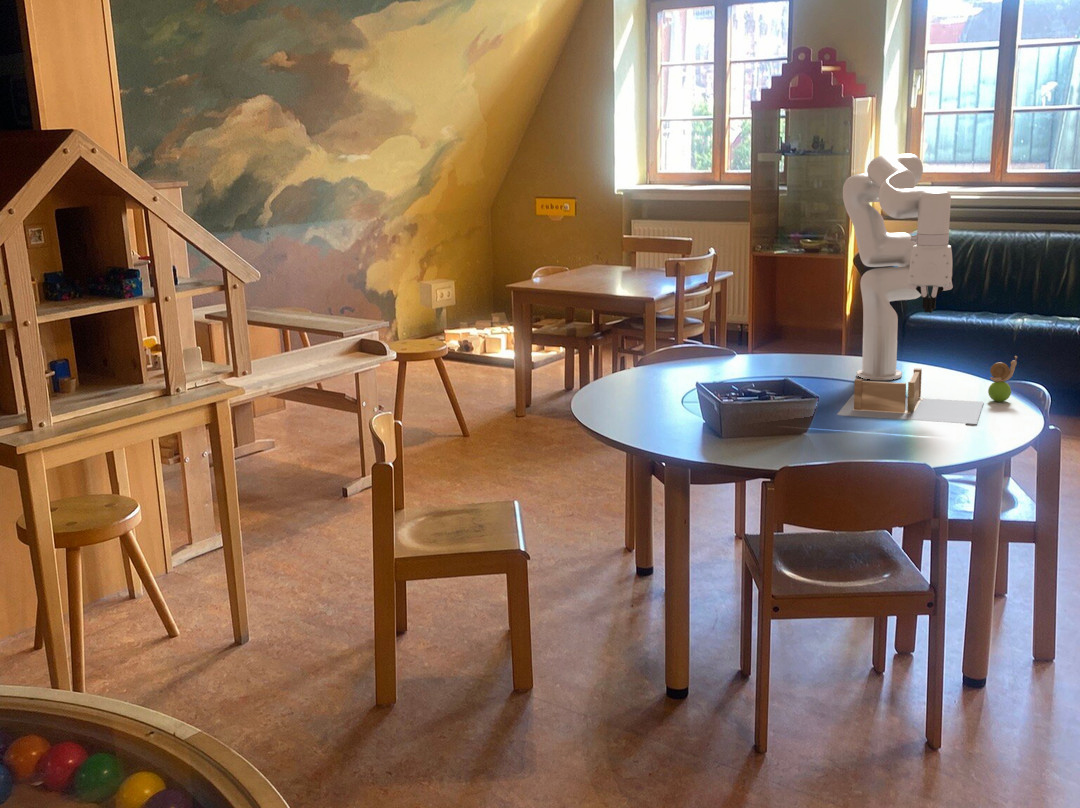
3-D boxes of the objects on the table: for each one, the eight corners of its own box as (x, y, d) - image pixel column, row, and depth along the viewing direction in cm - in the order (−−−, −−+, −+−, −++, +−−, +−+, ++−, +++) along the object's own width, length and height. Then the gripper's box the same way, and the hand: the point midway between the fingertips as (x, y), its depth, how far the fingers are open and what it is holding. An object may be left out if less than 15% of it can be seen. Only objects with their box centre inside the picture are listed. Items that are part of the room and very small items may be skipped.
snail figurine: (1016, 404, 264) (1019, 358, 261) (990, 404, 265) (992, 358, 262) (1011, 398, 269) (1014, 353, 266) (985, 398, 270) (988, 354, 267)
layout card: (852, 395, 281) (852, 394, 281) (983, 403, 266) (983, 401, 266) (836, 416, 262) (836, 414, 262) (976, 425, 247) (976, 423, 247)
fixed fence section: (855, 407, 267) (855, 378, 265) (905, 411, 262) (906, 381, 260) (853, 409, 266) (854, 380, 264) (904, 412, 260) (905, 382, 258)
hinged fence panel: (906, 411, 260) (907, 382, 258) (913, 395, 275) (914, 368, 273) (914, 411, 259) (915, 383, 257) (920, 395, 274) (921, 368, 272)
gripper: (899, 242, 260) (896, 313, 265) (962, 242, 253) (958, 315, 258) (904, 238, 267) (900, 307, 272) (965, 238, 260) (961, 310, 265)
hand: (928, 311), depth 265 cm, fingers closed
